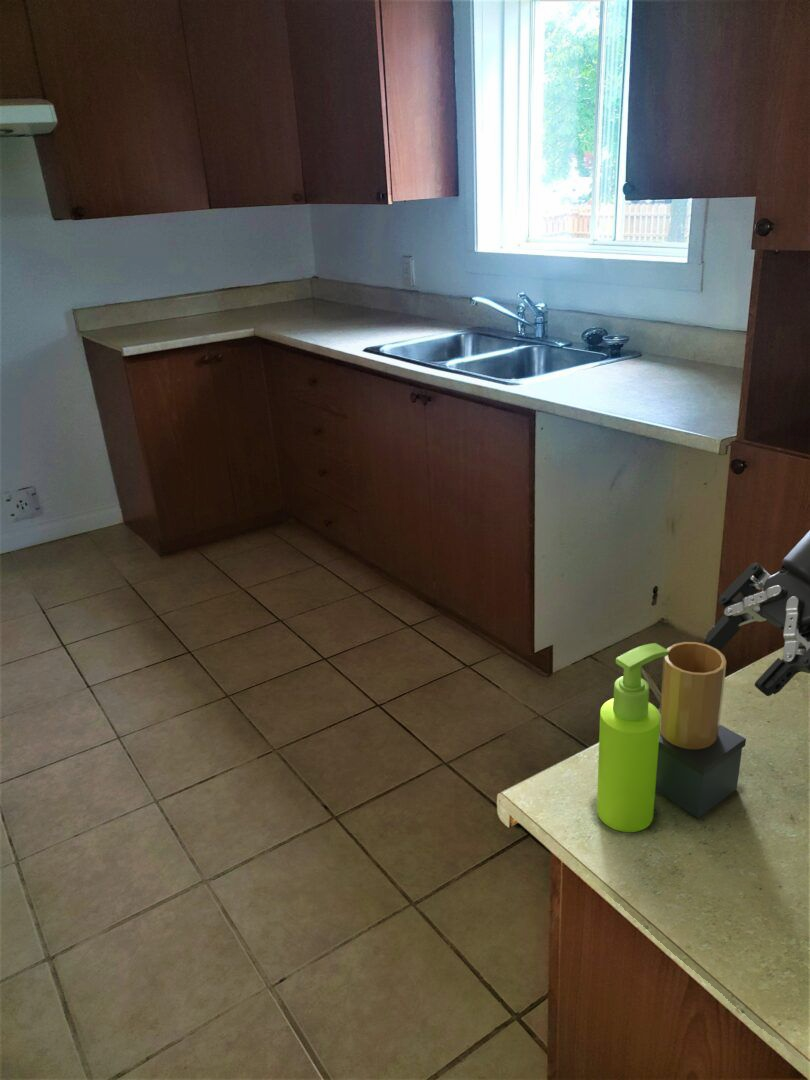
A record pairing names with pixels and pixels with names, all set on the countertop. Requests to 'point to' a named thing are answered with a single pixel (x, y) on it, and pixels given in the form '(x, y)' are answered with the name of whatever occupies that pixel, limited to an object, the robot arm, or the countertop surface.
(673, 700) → the cup
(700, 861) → the countertop surface
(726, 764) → the dark grey box
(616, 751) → the soap dispenser
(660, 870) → the countertop surface
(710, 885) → the countertop surface
